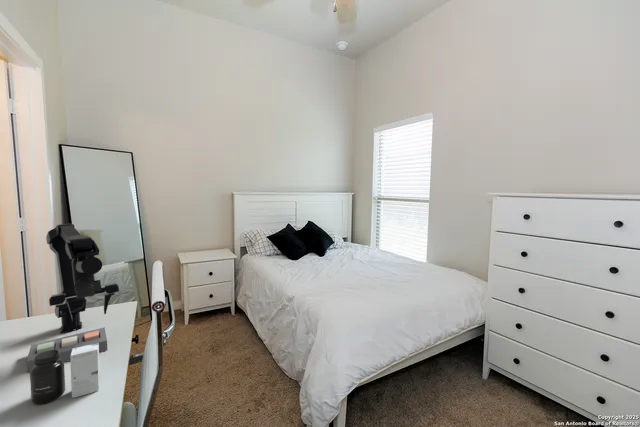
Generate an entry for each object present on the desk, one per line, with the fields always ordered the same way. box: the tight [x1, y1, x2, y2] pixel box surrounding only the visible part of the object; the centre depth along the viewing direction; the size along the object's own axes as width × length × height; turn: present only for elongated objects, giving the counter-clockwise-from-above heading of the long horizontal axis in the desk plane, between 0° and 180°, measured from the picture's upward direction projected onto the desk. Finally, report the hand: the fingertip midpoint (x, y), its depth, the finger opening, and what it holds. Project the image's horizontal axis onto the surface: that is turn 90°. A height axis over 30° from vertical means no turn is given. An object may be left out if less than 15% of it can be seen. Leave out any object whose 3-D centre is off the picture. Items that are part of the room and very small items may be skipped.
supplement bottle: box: [29, 350, 66, 406], centre depth 80 cm, size 7×7×12 cm
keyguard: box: [25, 327, 109, 373], centre depth 101 cm, size 12×20×4 cm, turn 129°
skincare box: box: [70, 343, 101, 399], centre depth 82 cm, size 6×4×12 cm
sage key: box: [37, 341, 55, 354], centre depth 97 cm, size 4×4×2 cm
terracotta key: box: [84, 331, 99, 342], centre depth 105 cm, size 4×4×2 cm
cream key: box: [62, 336, 78, 347], centre depth 101 cm, size 4×4×2 cm
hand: (88, 318), depth 103 cm, fingers open, 9 cm apart
